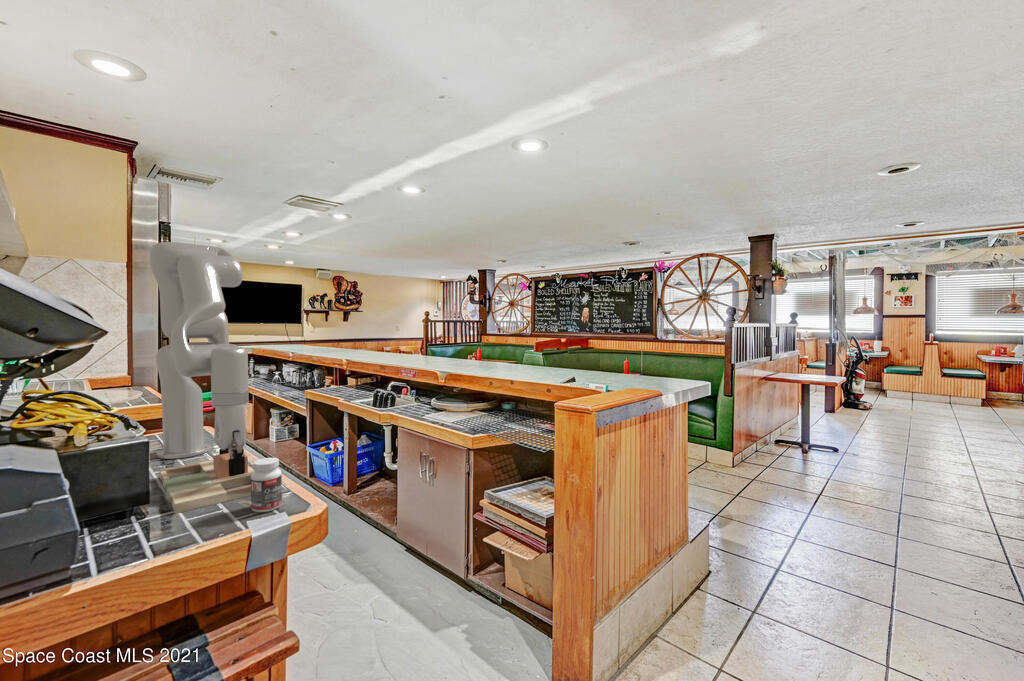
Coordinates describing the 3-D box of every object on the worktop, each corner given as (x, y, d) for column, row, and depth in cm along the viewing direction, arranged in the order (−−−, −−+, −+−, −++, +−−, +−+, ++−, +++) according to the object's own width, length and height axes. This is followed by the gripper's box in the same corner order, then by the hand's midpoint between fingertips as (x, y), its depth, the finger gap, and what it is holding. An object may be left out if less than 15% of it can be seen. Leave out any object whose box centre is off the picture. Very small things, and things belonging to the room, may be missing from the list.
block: (213, 471, 109) (213, 455, 109) (241, 466, 114) (241, 450, 113) (218, 478, 105) (218, 461, 105) (247, 472, 109) (247, 456, 109)
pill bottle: (268, 514, 91) (267, 466, 91) (244, 511, 92) (243, 464, 92) (288, 503, 97) (287, 457, 96) (265, 500, 98) (264, 455, 97)
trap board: (159, 477, 111) (159, 469, 111) (238, 462, 122) (238, 455, 122) (175, 513, 91) (174, 504, 91) (267, 491, 103) (267, 483, 103)
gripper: (204, 395, 111) (206, 463, 112) (219, 406, 98) (221, 483, 99) (239, 391, 116) (240, 457, 117) (258, 402, 103) (259, 475, 105)
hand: (232, 469), depth 108 cm, fingers open, 9 cm apart
